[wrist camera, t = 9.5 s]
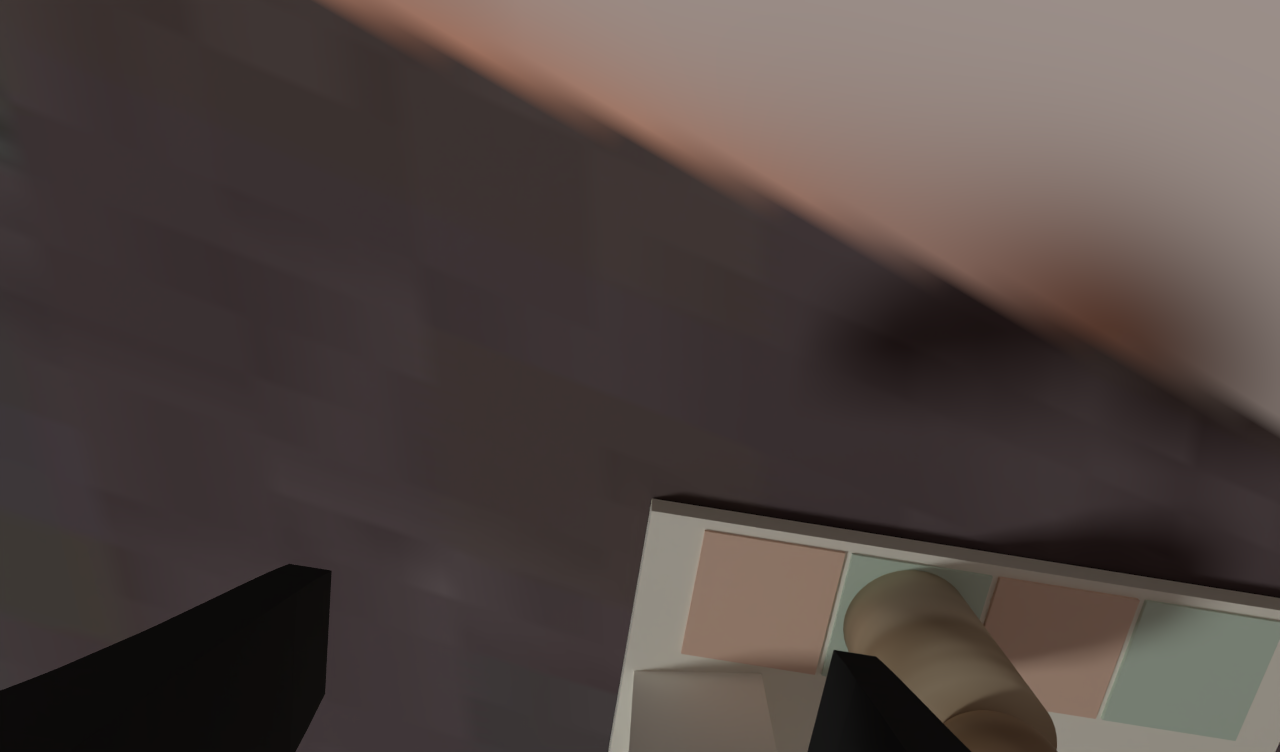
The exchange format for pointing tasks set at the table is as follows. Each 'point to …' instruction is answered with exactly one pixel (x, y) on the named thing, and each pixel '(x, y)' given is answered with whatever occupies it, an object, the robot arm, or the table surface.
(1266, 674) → the board
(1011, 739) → the pawn
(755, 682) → the die
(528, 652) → the table surface
